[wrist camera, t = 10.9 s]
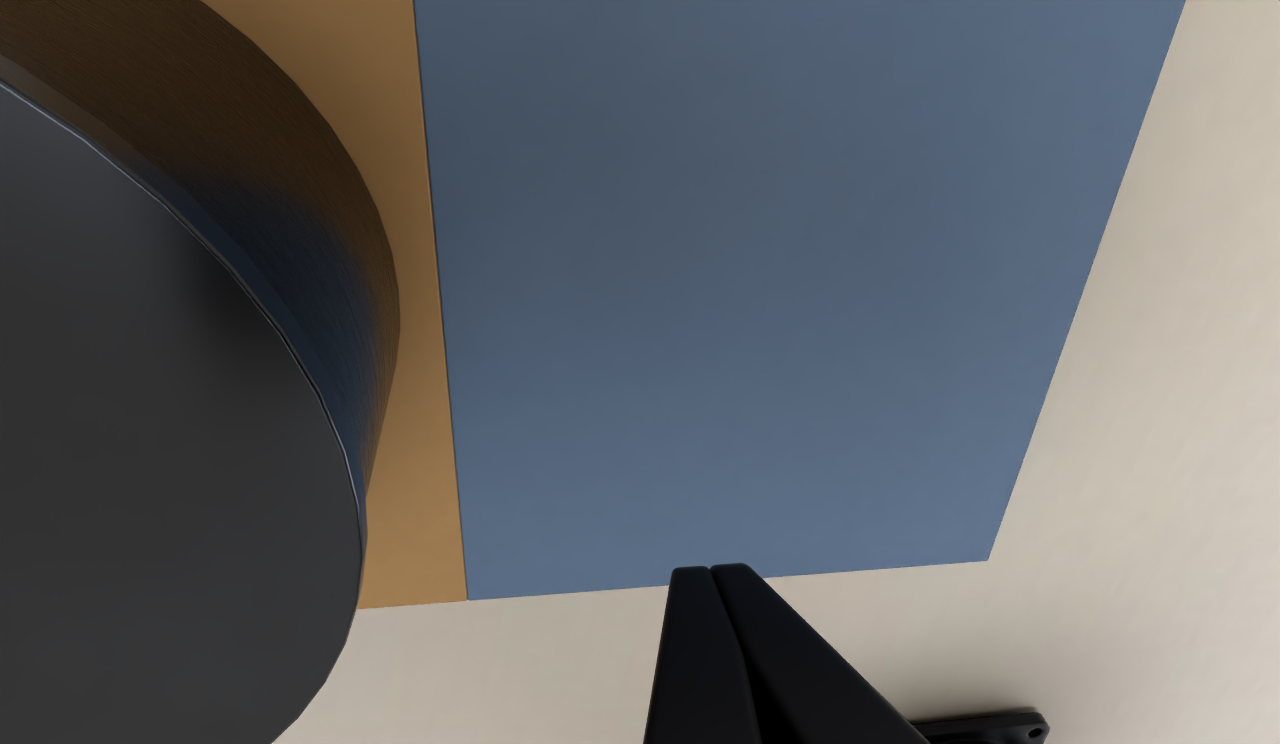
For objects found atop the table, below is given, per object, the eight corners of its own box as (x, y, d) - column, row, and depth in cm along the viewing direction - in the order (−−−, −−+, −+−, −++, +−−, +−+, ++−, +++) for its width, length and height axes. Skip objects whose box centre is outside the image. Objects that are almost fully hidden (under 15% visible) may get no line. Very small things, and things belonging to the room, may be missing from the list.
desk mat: (1236, -191, 14) (1255, -193, 13) (981, 551, 22) (988, 561, 22) (-759, -341, 10) (-802, -348, 9) (-135, 634, 18) (-147, 648, 18)
